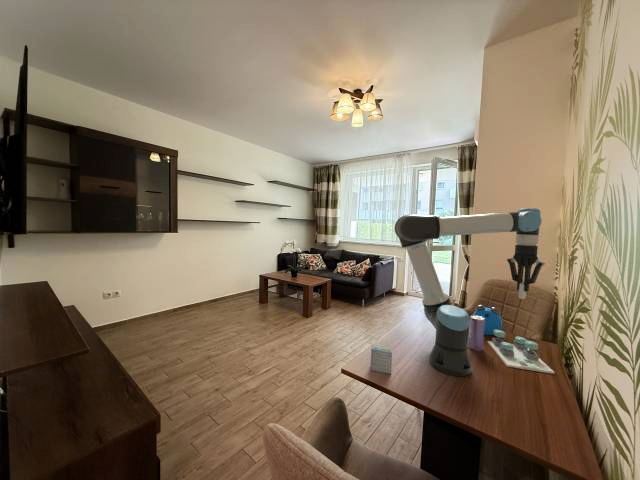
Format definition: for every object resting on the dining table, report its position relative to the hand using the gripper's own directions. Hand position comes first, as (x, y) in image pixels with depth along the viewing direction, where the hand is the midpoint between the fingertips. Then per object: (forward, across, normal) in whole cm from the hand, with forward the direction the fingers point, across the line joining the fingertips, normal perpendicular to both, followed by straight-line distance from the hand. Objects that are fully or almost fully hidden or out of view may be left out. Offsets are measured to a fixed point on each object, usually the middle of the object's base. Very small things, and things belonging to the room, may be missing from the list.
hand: (521, 298), depth 110 cm
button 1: (+25, +2, +4) cm, 26 cm away
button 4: (+25, +2, -9) cm, 27 cm away
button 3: (+23, +9, -3) cm, 25 cm away
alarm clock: (+27, +20, -13) cm, 36 cm away
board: (+27, 0, 0) cm, 27 cm away
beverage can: (+27, +13, +10) cm, 31 cm away
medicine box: (+26, +20, +62) cm, 70 cm away
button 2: (+23, -4, -3) cm, 24 cm away
